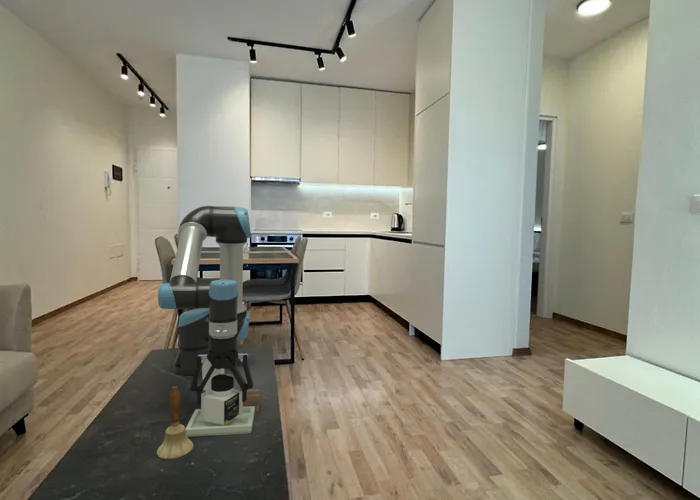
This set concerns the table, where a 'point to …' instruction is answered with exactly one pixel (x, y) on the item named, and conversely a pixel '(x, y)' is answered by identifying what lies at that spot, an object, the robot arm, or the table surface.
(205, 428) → the tray
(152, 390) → the table surface
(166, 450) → the hand bell
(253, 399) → the walnut block
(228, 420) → the medicine bottle
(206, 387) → the drinking glass
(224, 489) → the table surface
